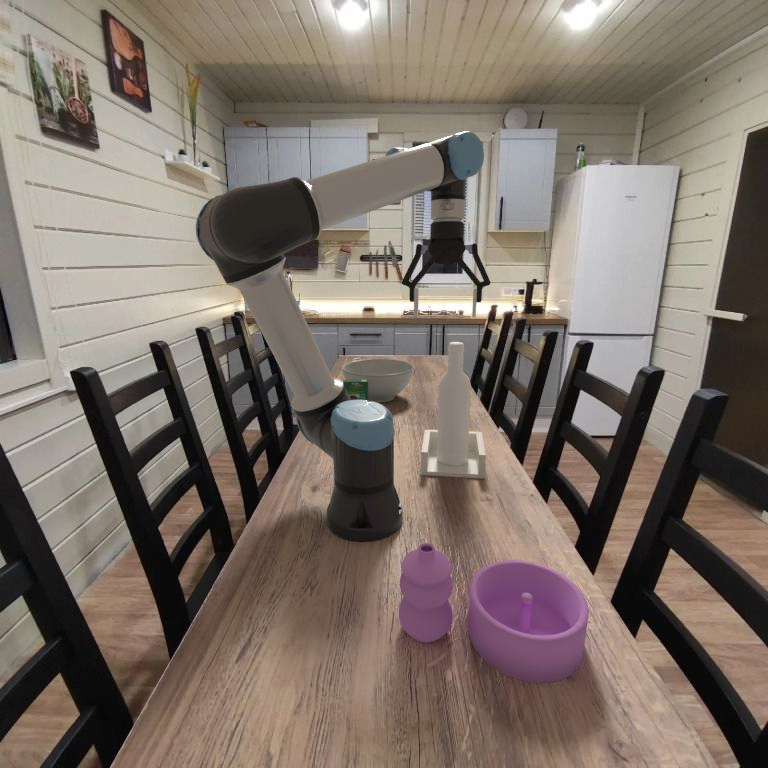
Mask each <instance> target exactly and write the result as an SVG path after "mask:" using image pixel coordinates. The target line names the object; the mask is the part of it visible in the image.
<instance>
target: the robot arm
mask: <svg viewBox="0 0 768 768" xmlns="http://www.w3.org/2000/svg"><path fill="white" fill-rule="evenodd" d="M484 159H485V152H484V145H483V143H482V141H481V139H480V137H479V136H478V135H477V134H476V133H474V132H471V131H468V130H467V131H461V132H456V133H453V134H452V135H449V136H446V137H442V138H439V139H436V140H433V141H431V142H428V143H423V144H420V145H417V146H414V147H410V148H405V147H392V148H390V149H389V150H388V151H387V152H386V153H385V155H384V156H382V157H378V158H375V159H372V160H369V161H365V162H363V163H359V164H356V165H353V166H350V167H347V168H344V169H340V170H337V171H334V172H329V173H328V174H324V175H321V176H320V175H319V176H318V177H314V178H312V179H308V180H303V179H302V178H301V177H299V176H293V177H290V178H287V179H286V178H285V179H282V180H278V181H273V182H268V183H262V184H253V185H246V186H240V187H236V188H233V189H231V190H228V191H226V192H225V193H223V194H220V195H216V196H214V197H212V198H211V199H209V200H208V201H207V202H206V203H205V204H203V206H202V208H201V209H200V211H199V213H198V214H197V217H196V222H195V235H196V239H197V242H198V244H199V246H200V249H201V250H202V251H203V252H204V254H205V255H206V256H207V257H208V258H209V259H211V260H212V261H213V262H214V263H215V266H216V267H217V269H218V271H219V273H220V275H221V276H222V278H223V281H224V282H225V283H226V285H227V286H229V287H233V288H236V289H238V290H239V292H240V294H241V296H242V298H243V300H244V302H245V303H246V305H247V307H248V309H249V310H250V313H251V315H252V317H253V319H254V320H255V324H256V325H257V326H258V329H259V330H260V332H261V333H262V336H263V338H264V339H265V342H266V343H267V345H268V347H269V349H270V351H271V354H272V355H273V357H274V359H275V361H276V362H277V365H278V366H279V368H280V370H281V372H282V374H283V376H284V378H285V380H286V381H287V383H288V386H289V387H290V390H291V391H292V393H293V395H294V396H293V398H292V401H291V407H292V410H293V411H294V413H295V422H296V425H297V428H298V429H299V431H300V433H301V434H302V436H303V437H304V438H305V439H306V440H308V442H310V443H312V444H314V445H315V446H316V447H318V448H319V449H320V450H322V451H323V452H324V453H326V455H328V457H330V458H331V459H332V462H333V478H334V479H333V481H334V484H333V489H332V493H331V497H330V501H329V502H328V503H329V504H328V506H327V508H326V525H327V527H328V529H329V530H330V532H332V533H333V534H335V535H336V536H338V537H340V538H342V539H345V540H349V541H354V542H371V541H376V540H381V539H385V538H387V537H389V536H391V535H393V534H394V533H396V532H397V531H398V530H399V528H401V526H402V524H403V521H404V520H403V517H404V516H403V515H404V514H403V512H404V511H403V507H402V506H403V505H402V503H401V501H400V497H399V495H398V492H397V489H396V486H395V480H394V479H395V478H394V476H395V475H394V474H395V468H394V467H395V465H394V464H395V462H394V461H395V459H394V458H395V456H394V455H395V454H394V452H395V443H394V441H395V434H396V431H395V426H394V417H393V415H392V413H391V411H390V410H389V409H388V407H386V406H385V405H383V404H382V403H380V402H373V401H372V402H369V401H367V400H351V399H350V397H349V395H348V393H347V390H346V388H345V386H344V384H343V380H342V379H340V378H337V377H334V376H332V373H331V371H330V369H329V366H328V365H327V363H326V360H325V359H324V356H323V354H322V351H321V350H320V348H319V346H318V343H317V341H316V340H315V337H314V335H313V333H312V331H311V329H310V327H309V325H308V322H307V320H306V318H305V316H304V314H303V312H302V310H301V307H300V305H299V303H298V301H297V299H296V297H295V295H294V293H293V290H292V288H291V285H290V284H289V282H288V280H287V277H286V276H285V274H284V271H283V268H284V265H285V262H286V260H287V258H286V256H285V254H286V253H288V252H291V251H292V250H294V249H296V248H298V247H300V246H302V245H305V244H307V243H310V242H312V241H315V240H317V239H319V238H320V236H321V233H322V231H323V230H325V229H328V228H331V227H334V226H336V225H339V224H342V223H344V222H346V221H350V220H352V219H355V218H358V217H360V216H363V215H365V214H368V213H371V212H374V211H376V210H379V209H382V208H384V207H388V206H390V205H392V204H395V203H398V202H401V201H403V200H406V199H409V198H412V197H414V196H417V195H419V194H422V193H424V192H430V220H431V221H432V222H431V223H430V234H429V235H430V238H429V244H428V245H426V244H422V243H421V244H420V243H417V244H416V246H415V253H414V256H413V258H412V260H411V262H410V264H409V266H408V268H407V270H406V273H405V274H404V277H403V278H402V280H401V284H402V285H403V286H405V287H408V288H409V296H408V297H409V302H411V303H413V317H418V316H419V287H416V286H417V285H418V284H419V282H420V281H421V280H422V279H423V278H424V276H425V275H426V274H427V273H428V272H429V270H430V269H431V268H432V267H433V266H434V265H435V263H436V264H439V265H445V264H448V265H455V264H456V263H457V264H458V265H459V266H460V268H461V269H462V270H463V271H464V273H465V274H467V276H468V278H470V280H471V281H472V283H473V284H474V285H475V286H476V287H473V290H472V291H473V292H472V293H473V294H472V311H471V312H472V313H471V315H472V317H471V318H476V317H477V316H476V314H477V303H481V302H482V299H483V298H482V297H483V296H482V295H483V288H485V287H486V286H489V285H490V284H491V280H490V277H489V275H488V274H487V271H486V269H485V266H484V264H483V262H482V260H481V257H480V256H479V251H478V244H477V243H475V242H474V243H472V244H465V242H464V241H465V240H464V238H465V223H464V222H463V220H464V219H465V218H466V217H465V213H466V211H465V210H466V189H467V186H466V185H467V179H468V178H471V177H475V175H477V174H478V173H479V172H480V170H481V168H482V166H483V164H484V161H485V160H484ZM426 251H428V253H429V255H431V258H430V259H429V260H428V261H427V262H426V264H425V265H424V266H423V267H422V269H421V270H419V272H418V274H416V276H415V277H414V278H413V279H412V281H410V280H411V277H412V276H413V273H414V271H415V269H416V267H417V266H418V263H419V262H420V260H421V258H422V255H424V254H426ZM465 251H468V254H470V255H472V257H473V260H474V262H475V265H476V266H477V269H478V271H479V273H480V275H481V278H482V279H483V280H482V281H480V280H479V279H478V277H477V276H476V274H474V272H473V270H472V269H470V267H469V266H468V264H467V263H466V262H465V261H464V259H463V258H462V255H463V254H464V253H465Z"/></svg>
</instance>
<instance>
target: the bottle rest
mask: <svg viewBox="0 0 768 768" xmlns="http://www.w3.org/2000/svg"><path fill="white" fill-rule="evenodd" d="M437 438H438V429H424V434H423V438H422V439H423V440H422V445H421V455H420V457H421V458H420V475H421V476H430V477H447V478H448V477H450V478H464V479H465V478H468V479H483V480H484V479H485V474H486V449H485V444H484V436H483V432H482V431H470V430H469V442H468V448H469V452H468V461H467V462H466V463H465V464H463V465H460V466H448V465H444V464H442V463H440V462H439V461H438V460H437Z"/></svg>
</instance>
